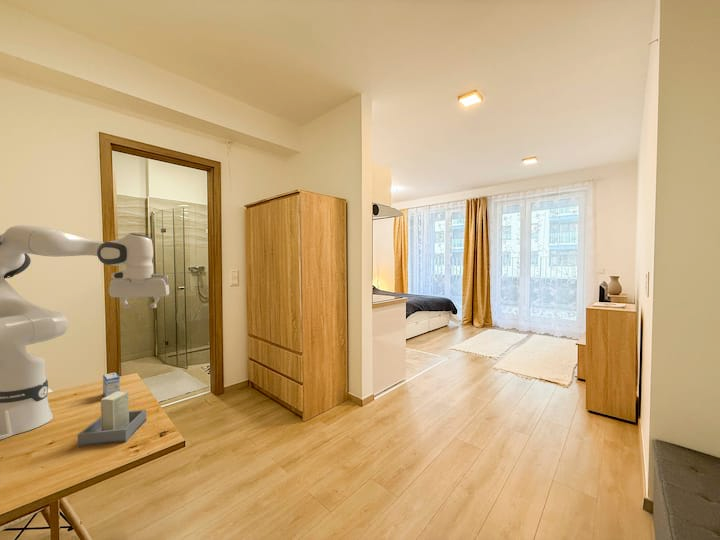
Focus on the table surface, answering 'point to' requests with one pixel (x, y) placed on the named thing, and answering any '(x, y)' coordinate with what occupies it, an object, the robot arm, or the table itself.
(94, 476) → the table surface
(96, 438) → the tray
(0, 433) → the robot arm
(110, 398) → the skincare box
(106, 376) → the medicine box
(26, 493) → the table surface
